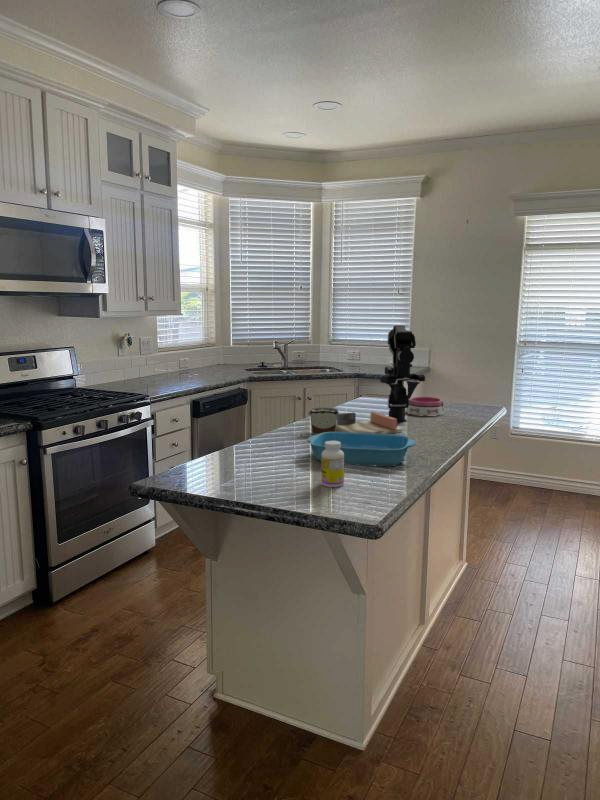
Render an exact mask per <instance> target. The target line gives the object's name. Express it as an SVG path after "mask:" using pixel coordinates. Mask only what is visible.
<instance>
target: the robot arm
mask: <svg viewBox="0 0 600 800" xmlns="http://www.w3.org/2000/svg"><path fill="white" fill-rule="evenodd" d="M387 334H388V335H387V345H388V347H389V351H390V353H391V354H392V366H385V367H384V375H381V376H380V383H381V384H386V385H388V386H389V387H390V391H389V394H388V395H387V397H388V398H387V409H389V410H388V416H389V417H393V418H396V419H397V423H402V422H408V420H407V419H406V409H407V408H408V404H409V399H410V398H412V395H413V393H414V391H415V390H416V388H417V386H419V384H421V382H425V381H426V376H425V374H423V373H419V372H415V373H411V368H412V367H413V364H412V362H413V361H414V359H415V355H414V353H413V351H412V349H415V347H416V345H417V343H416V342H417V341H416V336H415V334H414V333H413V331H412V330H407V329H406V326H405V325H403V324H401V325H400V324H399V325H393V326H392V329H391V330H390V331H389V332H388V333H387ZM403 381H405V382H406V385H407V389H406V387H405V386H404V384H403Z"/></svg>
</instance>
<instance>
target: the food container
mask: <svg viewBox="0 0 600 800" xmlns="http://www.w3.org/2000/svg"><path fill="white" fill-rule="evenodd" d="M337 414H338V415H339V414H340V413H339V410H338V409H337V408H335V407H334V408H333V407H314V408H310V409H309V411H308V415H309V416H310V417H309V418H310V425H311V433H312V435H318V434H320V433H324V432H337V431H336V424H337Z"/></svg>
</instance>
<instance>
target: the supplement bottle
mask: <svg viewBox="0 0 600 800" xmlns="http://www.w3.org/2000/svg"><path fill="white" fill-rule="evenodd" d="M340 447H341V442H339V441H326V442H325V448H326V449H325V450H324V451H323V452H322V455H321V461H320V462H321V466H320V467H321V477H320V479H321V480H320V481H321V482H320V483H321V484H322V486H323V485H324V487H326V486H327V487H326V488H332V487H334V488H340V487H342V486H343V485H344V484H345V464H344V453H343V451H342V450H340ZM339 486H340V487H339Z"/></svg>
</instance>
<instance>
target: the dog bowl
mask: <svg viewBox="0 0 600 800" xmlns="http://www.w3.org/2000/svg"><path fill="white" fill-rule="evenodd" d="M407 413H409V414H408V415H410V414H414V415H413V416H415V415H440V414H443V413H445V414H446V411H445V407H444V402H443V400H442V399H441V398H438V397H435V396H415V397H411V398H410V399H409V404H408V408H406V409H405V414H407Z"/></svg>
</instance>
